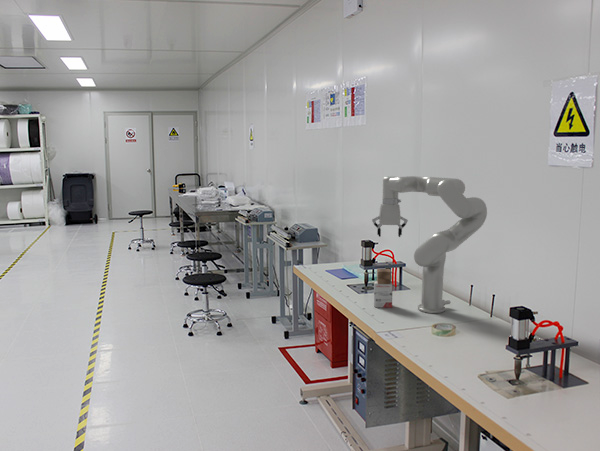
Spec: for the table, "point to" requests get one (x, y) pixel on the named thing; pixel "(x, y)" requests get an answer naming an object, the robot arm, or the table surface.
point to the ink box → (383, 295)
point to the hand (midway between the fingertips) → (389, 236)
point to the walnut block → (383, 276)
